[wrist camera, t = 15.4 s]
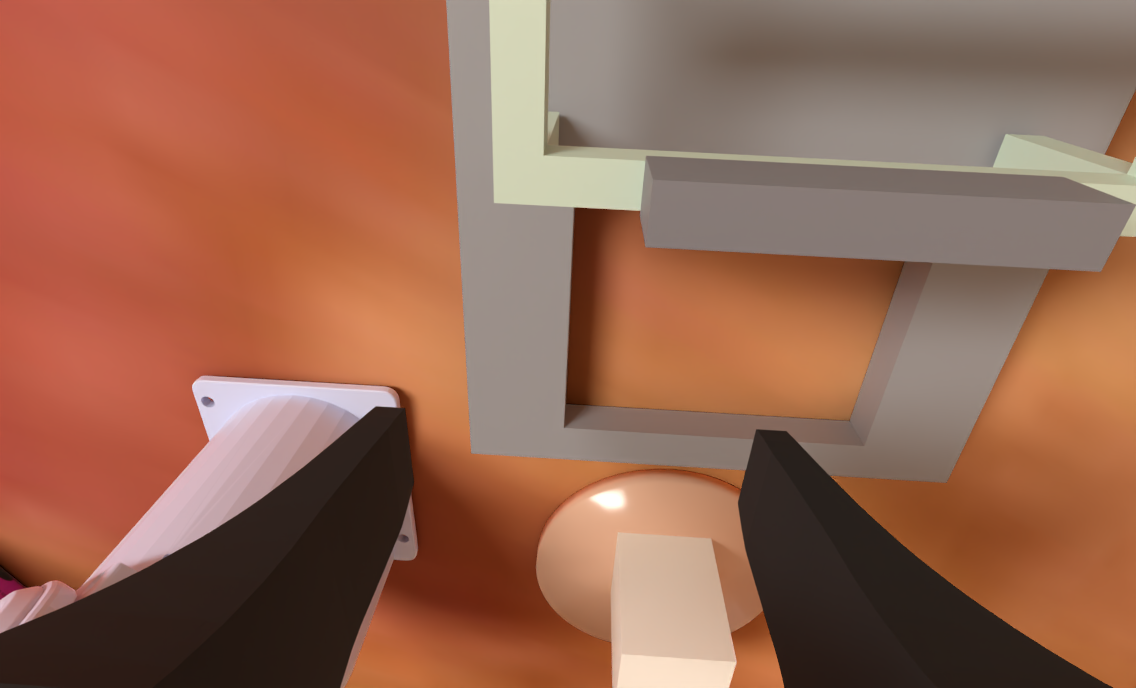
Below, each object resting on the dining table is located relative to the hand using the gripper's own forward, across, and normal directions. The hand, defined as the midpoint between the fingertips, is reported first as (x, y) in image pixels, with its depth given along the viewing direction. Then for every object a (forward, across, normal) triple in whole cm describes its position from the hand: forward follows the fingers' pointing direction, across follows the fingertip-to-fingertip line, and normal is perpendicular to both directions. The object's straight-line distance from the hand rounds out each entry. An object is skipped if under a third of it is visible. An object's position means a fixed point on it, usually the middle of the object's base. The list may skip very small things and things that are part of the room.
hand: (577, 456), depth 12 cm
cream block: (+9, -4, +14) cm, 16 cm away
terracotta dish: (+9, -4, +14) cm, 17 cm away
